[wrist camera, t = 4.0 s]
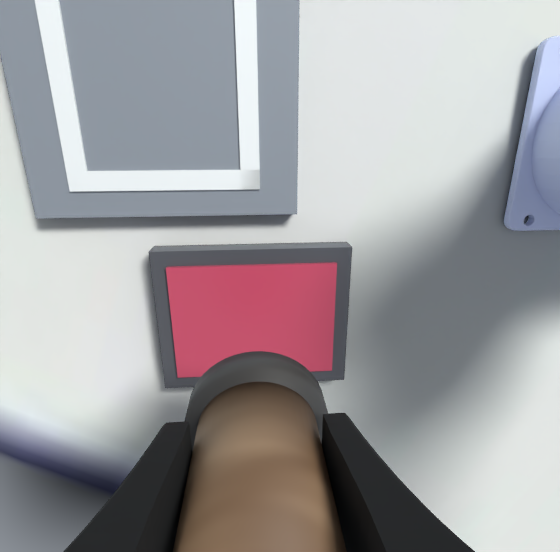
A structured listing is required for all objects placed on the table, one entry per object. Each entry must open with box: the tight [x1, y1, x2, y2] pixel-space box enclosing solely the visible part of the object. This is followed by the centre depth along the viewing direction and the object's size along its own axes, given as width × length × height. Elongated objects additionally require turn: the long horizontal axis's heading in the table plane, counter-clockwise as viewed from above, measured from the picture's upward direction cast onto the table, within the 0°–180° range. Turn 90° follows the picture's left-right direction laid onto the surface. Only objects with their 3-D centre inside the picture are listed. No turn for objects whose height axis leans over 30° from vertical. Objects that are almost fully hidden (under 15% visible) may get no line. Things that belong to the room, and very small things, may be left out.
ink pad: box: [149, 242, 352, 388], centre depth 18 cm, size 9×7×1 cm
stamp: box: [173, 351, 347, 552], centre depth 9 cm, size 4×4×6 cm
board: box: [0, 0, 299, 218], centre depth 15 cm, size 11×10×1 cm
